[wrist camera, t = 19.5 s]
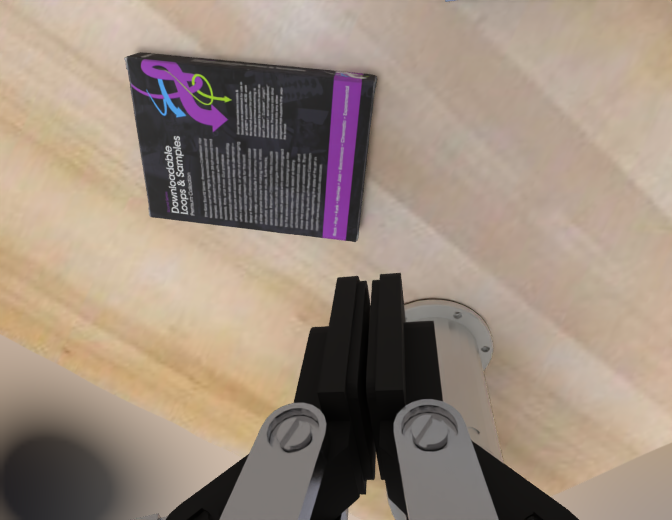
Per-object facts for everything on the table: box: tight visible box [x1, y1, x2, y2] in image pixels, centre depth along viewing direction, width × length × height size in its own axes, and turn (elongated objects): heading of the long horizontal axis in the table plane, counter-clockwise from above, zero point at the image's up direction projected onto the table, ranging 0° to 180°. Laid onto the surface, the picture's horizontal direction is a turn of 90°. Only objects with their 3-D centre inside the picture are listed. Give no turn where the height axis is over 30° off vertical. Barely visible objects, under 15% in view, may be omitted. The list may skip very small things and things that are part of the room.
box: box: [124, 53, 377, 242], centre depth 40 cm, size 14×4×20 cm
